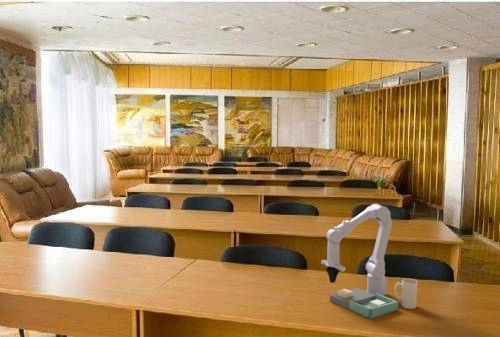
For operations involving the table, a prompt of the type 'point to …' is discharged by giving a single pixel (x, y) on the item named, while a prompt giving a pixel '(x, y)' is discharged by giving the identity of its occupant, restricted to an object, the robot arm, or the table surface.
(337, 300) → the grey flat slab
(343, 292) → the tile
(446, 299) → the table surface
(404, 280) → the mug
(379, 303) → the tile
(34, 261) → the table surface
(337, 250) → the robot arm
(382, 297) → the tray
